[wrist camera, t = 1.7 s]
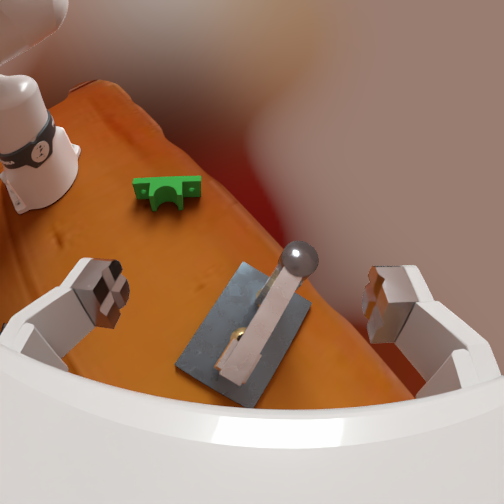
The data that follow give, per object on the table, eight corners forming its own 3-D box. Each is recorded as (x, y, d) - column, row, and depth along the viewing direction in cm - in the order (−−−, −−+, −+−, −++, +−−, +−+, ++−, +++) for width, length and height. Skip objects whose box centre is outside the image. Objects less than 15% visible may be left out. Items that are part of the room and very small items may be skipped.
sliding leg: (211, 368, 34) (214, 366, 23) (224, 348, 36) (233, 337, 24) (232, 380, 34) (245, 384, 23) (244, 360, 36) (263, 354, 24)
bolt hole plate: (175, 364, 35) (174, 364, 34) (242, 263, 43) (243, 261, 42) (250, 409, 34) (252, 410, 33) (309, 304, 42) (312, 302, 41)
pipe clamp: (135, 212, 44) (129, 197, 40) (138, 194, 45) (133, 178, 41) (201, 210, 46) (201, 193, 42) (200, 192, 47) (201, 175, 43)
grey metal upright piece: (209, 369, 35) (210, 368, 21) (263, 282, 41) (293, 234, 27) (232, 383, 34) (248, 390, 21) (284, 295, 41) (324, 253, 27)
